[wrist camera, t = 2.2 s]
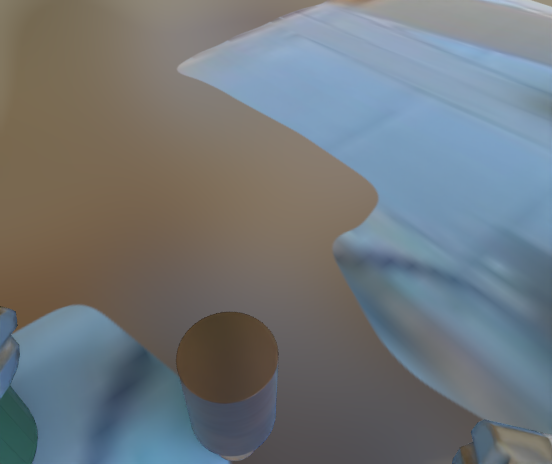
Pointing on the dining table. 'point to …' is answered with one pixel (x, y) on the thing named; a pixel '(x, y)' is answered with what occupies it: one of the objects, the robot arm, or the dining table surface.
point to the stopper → (229, 382)
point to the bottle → (16, 430)
